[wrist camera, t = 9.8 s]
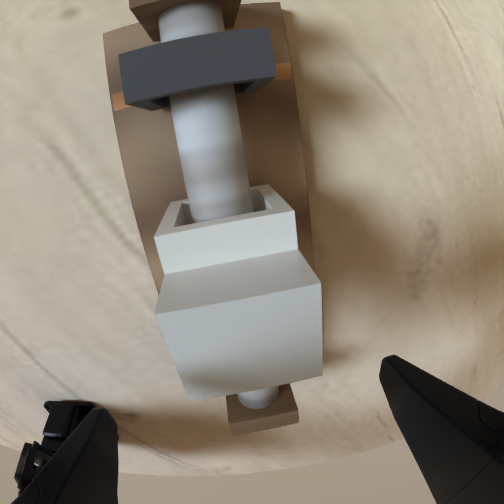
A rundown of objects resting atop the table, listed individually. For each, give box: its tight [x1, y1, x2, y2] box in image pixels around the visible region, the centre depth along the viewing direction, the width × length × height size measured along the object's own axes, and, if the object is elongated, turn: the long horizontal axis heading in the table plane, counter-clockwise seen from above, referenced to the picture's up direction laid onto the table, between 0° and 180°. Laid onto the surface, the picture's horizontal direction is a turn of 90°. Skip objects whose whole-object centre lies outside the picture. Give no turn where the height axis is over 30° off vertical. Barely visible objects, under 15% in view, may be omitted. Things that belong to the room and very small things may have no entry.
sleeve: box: [154, 184, 323, 400], centre depth 14 cm, size 6×5×8 cm
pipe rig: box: [103, 0, 314, 435], centre depth 15 cm, size 25×10×6 cm, turn 8°
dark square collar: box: [118, 27, 277, 111], centre depth 11 cm, size 2×5×5 cm, turn 98°
